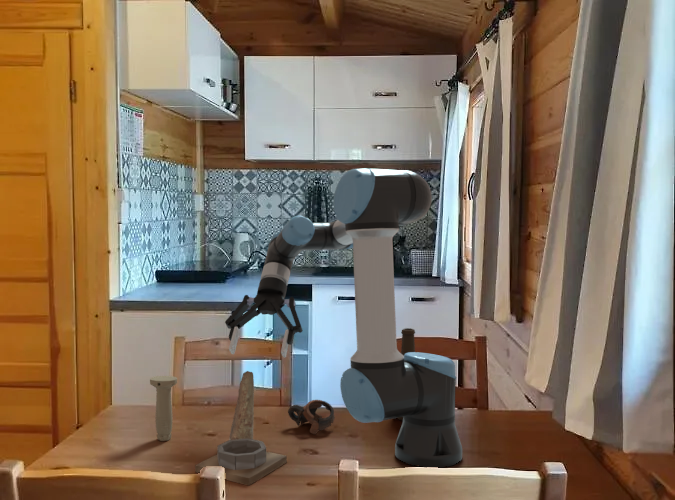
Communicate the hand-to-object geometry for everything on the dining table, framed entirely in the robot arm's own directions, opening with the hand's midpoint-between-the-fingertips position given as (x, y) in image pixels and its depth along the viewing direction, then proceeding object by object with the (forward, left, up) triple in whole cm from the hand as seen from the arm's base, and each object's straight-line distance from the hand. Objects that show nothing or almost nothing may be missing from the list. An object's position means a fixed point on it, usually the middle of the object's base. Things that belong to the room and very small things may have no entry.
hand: (257, 353), depth 165 cm
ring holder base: (-11, +21, -20) cm, 31 cm away
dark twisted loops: (-11, -8, -20) cm, 24 cm away
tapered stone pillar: (-2, +9, -20) cm, 22 cm away
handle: (+16, +16, -20) cm, 30 cm away
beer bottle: (-29, -29, -20) cm, 45 cm away
